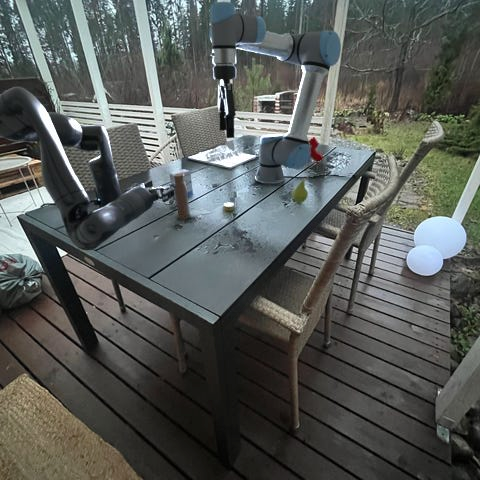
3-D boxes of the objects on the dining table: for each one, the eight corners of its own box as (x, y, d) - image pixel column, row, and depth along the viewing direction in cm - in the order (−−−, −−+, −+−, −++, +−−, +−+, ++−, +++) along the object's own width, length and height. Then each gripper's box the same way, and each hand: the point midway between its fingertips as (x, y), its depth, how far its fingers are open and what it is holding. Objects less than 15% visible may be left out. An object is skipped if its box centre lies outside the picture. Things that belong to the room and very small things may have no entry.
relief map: (229, 168, 161) (229, 160, 158) (188, 158, 179) (187, 150, 176) (255, 158, 179) (255, 150, 177) (215, 150, 197) (215, 142, 194)
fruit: (288, 200, 123) (290, 174, 116) (302, 197, 125) (305, 172, 119) (296, 206, 118) (299, 179, 111) (310, 203, 120) (314, 177, 114)
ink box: (187, 192, 132) (184, 168, 125) (193, 195, 129) (190, 170, 122) (172, 197, 127) (168, 172, 120) (178, 200, 124) (174, 175, 117)
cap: (229, 205, 119) (229, 201, 118) (236, 208, 116) (236, 204, 115) (221, 208, 117) (221, 204, 115) (228, 212, 114) (228, 207, 113)
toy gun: (326, 156, 168) (314, 136, 164) (326, 158, 165) (313, 137, 161) (301, 172, 178) (289, 152, 174) (300, 174, 175) (288, 154, 171)
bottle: (191, 217, 110) (187, 175, 100) (181, 220, 108) (175, 177, 98) (187, 213, 113) (181, 171, 104) (176, 216, 111) (170, 174, 101)
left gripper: (152, 194, 75) (180, 175, 88) (109, 189, 78) (142, 171, 91) (157, 218, 79) (182, 196, 92) (116, 212, 82) (146, 192, 95)
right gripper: (207, 65, 98) (211, 128, 109) (219, 65, 77) (222, 142, 89) (228, 65, 99) (229, 127, 111) (244, 65, 79) (244, 140, 90)
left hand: (162, 184), depth 92 cm, fingers open, 8 cm apart
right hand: (226, 133), depth 100 cm, fingers open, 13 cm apart
